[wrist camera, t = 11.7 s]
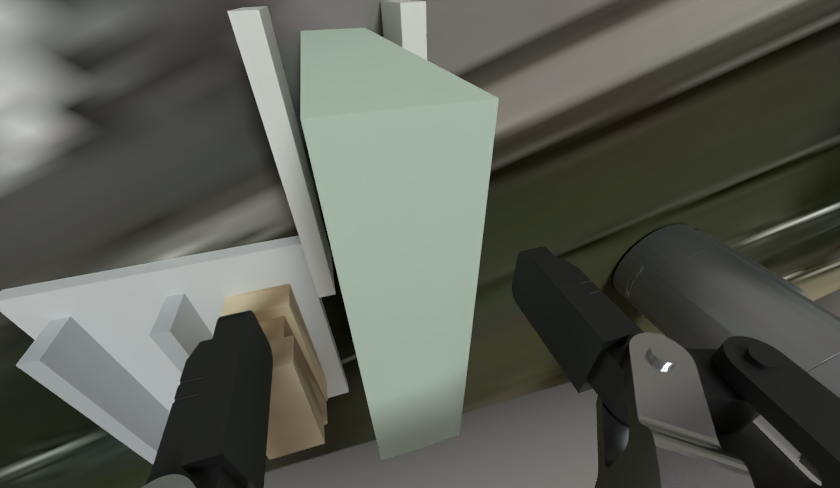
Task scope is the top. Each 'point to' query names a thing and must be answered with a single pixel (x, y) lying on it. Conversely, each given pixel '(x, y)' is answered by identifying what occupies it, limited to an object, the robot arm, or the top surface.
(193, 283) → the grey rack
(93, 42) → the top surface
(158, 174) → the top surface
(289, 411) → the offcut stack
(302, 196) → the white stand
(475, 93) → the sage board
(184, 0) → the top surface
